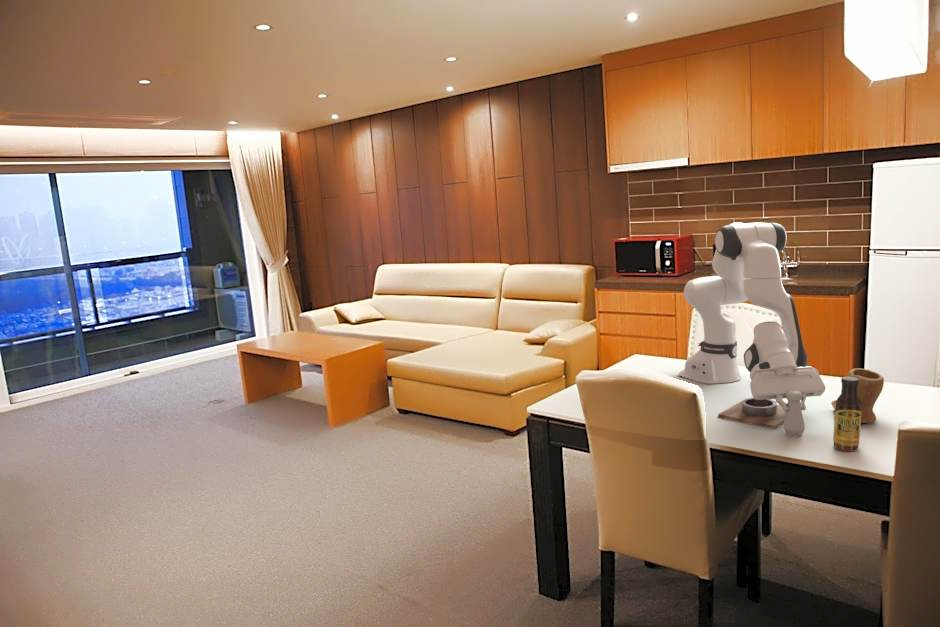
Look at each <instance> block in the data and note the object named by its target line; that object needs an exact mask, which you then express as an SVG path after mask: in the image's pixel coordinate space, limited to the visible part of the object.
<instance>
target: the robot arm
mask: <svg viewBox="0 0 940 627" xmlns="http://www.w3.org/2000/svg"><path fill="white" fill-rule="evenodd" d="M787 238H788V236H787V231H786V229H785V227H784V226H783V225H782V224H779V223H776V222H748V223H744V222H740V221H739V222H738V221H737V222H733V223H730V224H728V225H723V226H721V227H719V229H718V230H717V231H716V233H715V238H714V243H715V244H714V246H715V252H714V255H713V257H712V261H711V266H712V270H713V271H714V272H715V273H716V274H717V275H711V276H701V277H697V278H693V279H690V280H688V281H687V282H686V284H685V286H684V288H683V296H684V299H685V302H686V303H687V304H688V305H690V306H691V307H693V308H694V309H695V310H696V311H697V313H698V314H699V315H700V318H701V319H702V323H703V324H702V325H703V335H704V336H703V338H704V340H702V341H701V342H699V343H698V344H697V347H698V348H699V347H700V349H699V350H698V351H697V352H696V353H694V354H692V355H691V356H689V357H688V358H687V359H686V362H685V363H684V364H685V366H684V369H682V370H681V371H679V372H678V377H680V376H682V377H681V378H683V377H686V378H685V379H687V378H689V379H688V380H691V379H693V380H692V381H695V380H696V382H700V383H703V384H709V385H711V384H721V383H722V384H723V383H724V384H725V383H733V382H737V381H739V380H741V378H742V376H741V374H740V370H739V365H738V358H737V357H738V342H737V338H736V337H737V336H736V334H737V332H736V330H737V329H736V327H737V325H736V321H735V319H733V317H732V316H730V315H728V314H726V313H723V312H722V309H721V306H725V305H727V306H728V305H735V304H741V303H745V302H747V301H749V302H750V303H752V304H753V305H755V306H757V307H760V308H764V309H766V310H770V311H772V312H773V313H775V314H776V315H778V317H779V319H780V322H781V324H780V323H779V322H778V321H763V322H760V323H757V324H756V325H755V326H754V327H753V341H752V343H751V345H750V346H749V347H748V348H746V350H745V351H744V353H743V362H744V365H745V368H746V369H747V371H748V372H749V378H750V380H751V381H750V383H749V387H750V391H751V396H752V398H754V399H756V400H766V399H771V400H774V401H775V402H776V403H777V405H780V406H781V407H782V409H783V411H784V412H786V411H788V410H790V407H789V404H787V402H785V401H783V399H786V392H788V391H791V390H795V391H800V392H801V393H802V400H800V404H801V410H802V411H805V410H806V408H807V407H806V404H805V403H806V400H807V398H808V397H821V396H822V395H823V394H824V392H825V391H826V386H825V384H824V382H823V379H822V378H821V374H820V372H819V369H817V368H815V367H812V365H811V366H810V365H808V362H809V361H808V355H807V352H806V350H805V346H804V344H803V339H802V333H801V329H800V323H799V318H798V317H799V316H798V313H797V309H796V304H795V302H794V299H793V297H792V295H791V294H790V293H788V292H786V290H785V288H784V285H783V282H782V269H781V268H782V266H781V260H780V255H779V254H780V253H782V251H783V250H784V249H785V247H786V245H787V242H788V241H787Z"/></svg>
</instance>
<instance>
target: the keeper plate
mask: <svg viewBox="0 0 940 627" xmlns="http://www.w3.org/2000/svg"><path fill="white" fill-rule="evenodd" d="M742 401H743V400H742ZM742 401H740V402H738V403H736V404H734V405H732V406H731V407H729V408H727V409H725V410H723V411H721V412H720V413H718V418H720V417H721V418H720V419H725V418H726V419H725V420H731V421H736V422H741V423H745V424H750V425H755V426H758V427H764V428H768V429H769V428H770V429H773V430H775V429H777V428H778V427H780V426H783V423H784V418H785V413H786V412H784V411H783V409H782V407H781V406H780V405H779V404H777V414H775V415H774V416H770V417H753V416H748V415H746V414H744V413H742Z"/></svg>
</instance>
